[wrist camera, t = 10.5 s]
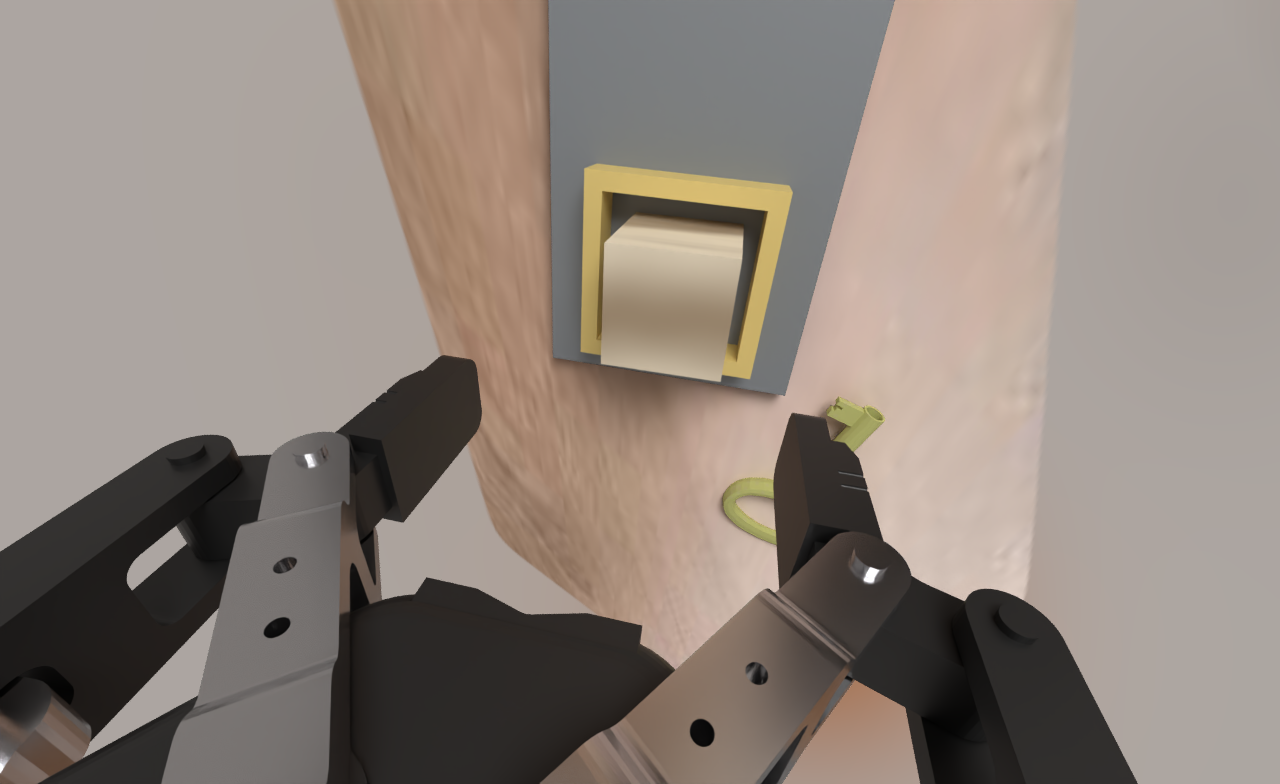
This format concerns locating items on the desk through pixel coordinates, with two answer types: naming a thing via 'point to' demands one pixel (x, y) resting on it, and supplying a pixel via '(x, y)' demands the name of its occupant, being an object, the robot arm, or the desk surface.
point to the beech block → (670, 294)
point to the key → (853, 435)
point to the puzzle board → (706, 150)
